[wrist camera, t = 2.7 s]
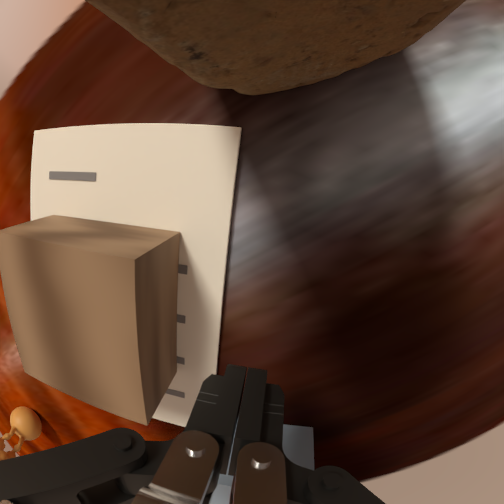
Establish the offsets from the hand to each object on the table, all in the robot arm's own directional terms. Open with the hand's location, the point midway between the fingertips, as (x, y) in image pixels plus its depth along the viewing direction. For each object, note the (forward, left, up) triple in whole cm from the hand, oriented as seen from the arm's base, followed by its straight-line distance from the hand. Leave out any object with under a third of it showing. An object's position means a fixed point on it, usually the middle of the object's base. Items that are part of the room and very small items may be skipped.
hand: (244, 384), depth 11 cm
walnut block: (+9, 0, -5) cm, 11 cm away
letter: (+9, 0, -6) cm, 11 cm away
